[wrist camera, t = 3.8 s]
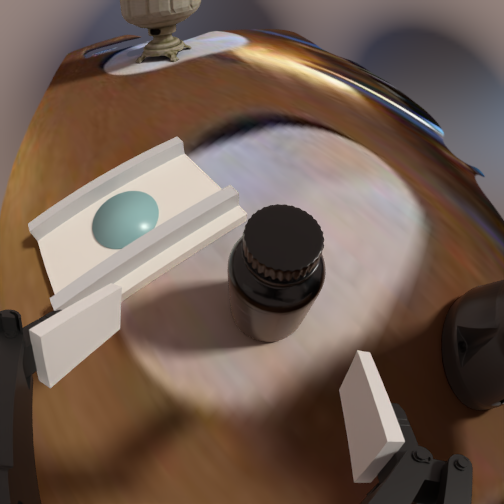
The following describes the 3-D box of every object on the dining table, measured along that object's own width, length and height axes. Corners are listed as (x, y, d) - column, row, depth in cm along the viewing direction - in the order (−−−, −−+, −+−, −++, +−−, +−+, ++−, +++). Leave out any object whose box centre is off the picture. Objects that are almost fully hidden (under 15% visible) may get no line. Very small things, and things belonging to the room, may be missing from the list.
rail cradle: (174, 150, 38) (171, 131, 35) (246, 220, 32) (248, 201, 29) (37, 231, 30) (26, 216, 27) (75, 334, 24) (59, 323, 21)
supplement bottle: (280, 265, 29) (304, 180, 19) (315, 323, 26) (365, 259, 16) (217, 292, 28) (208, 211, 17) (249, 356, 24) (261, 310, 14)
